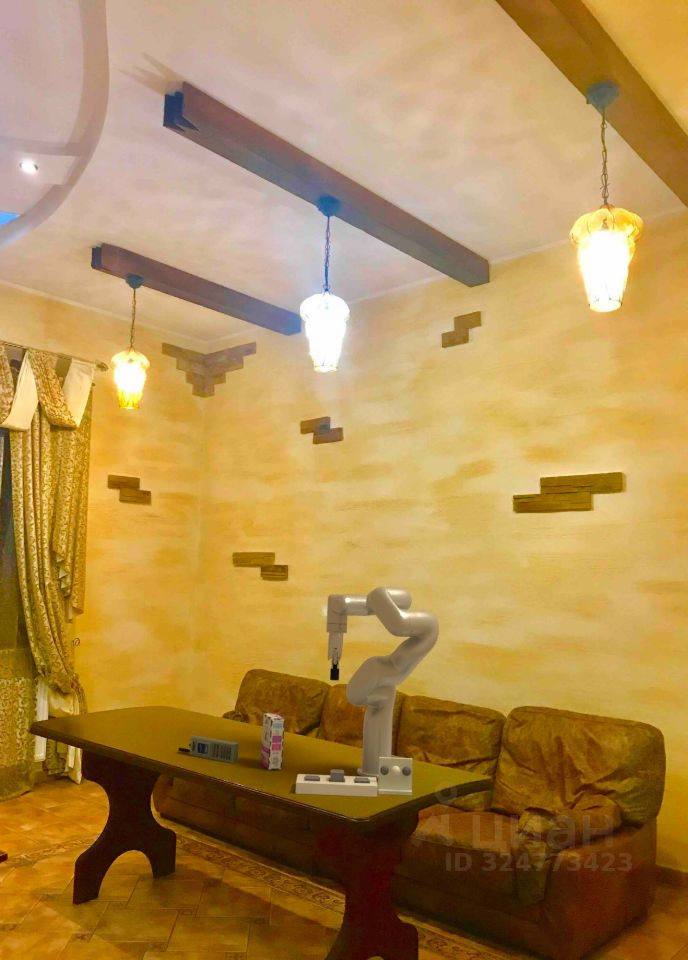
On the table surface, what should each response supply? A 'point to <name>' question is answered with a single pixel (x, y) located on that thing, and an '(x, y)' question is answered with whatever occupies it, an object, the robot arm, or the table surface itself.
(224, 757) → the handheld radio
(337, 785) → the button board
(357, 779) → the right button
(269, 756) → the candy bar box
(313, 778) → the left button
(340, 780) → the middle button
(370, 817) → the table surface
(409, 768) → the pattern placard
